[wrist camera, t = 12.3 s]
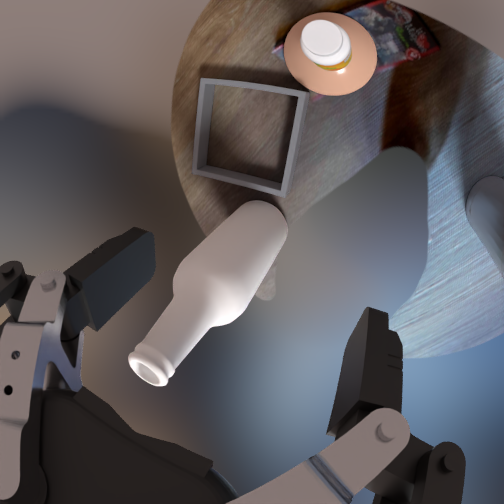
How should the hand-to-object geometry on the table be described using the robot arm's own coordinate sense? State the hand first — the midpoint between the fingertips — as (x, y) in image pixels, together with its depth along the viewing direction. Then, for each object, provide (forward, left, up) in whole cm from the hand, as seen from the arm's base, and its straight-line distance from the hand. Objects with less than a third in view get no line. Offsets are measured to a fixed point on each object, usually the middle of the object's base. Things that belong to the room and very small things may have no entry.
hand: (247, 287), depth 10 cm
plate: (+3, -13, -32) cm, 35 cm away
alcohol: (+8, +15, -32) cm, 37 cm away
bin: (+12, +1, -32) cm, 34 cm away
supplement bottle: (+3, -13, -32) cm, 34 cm away
